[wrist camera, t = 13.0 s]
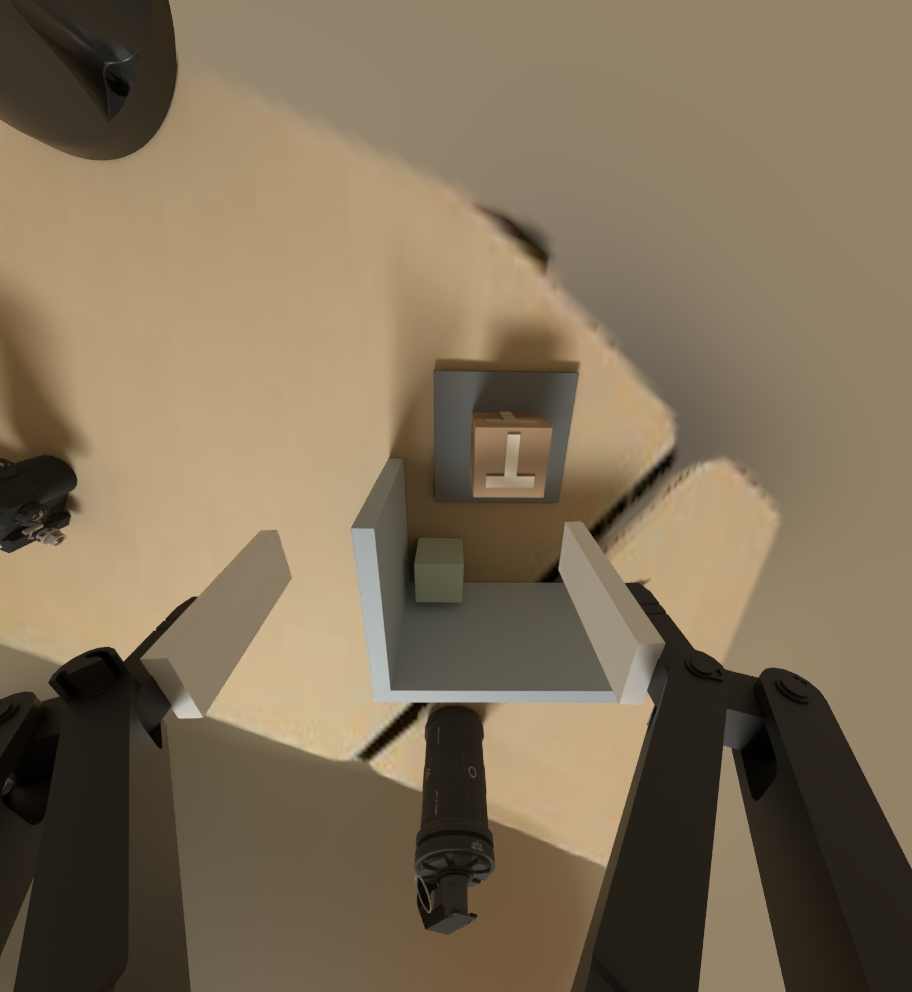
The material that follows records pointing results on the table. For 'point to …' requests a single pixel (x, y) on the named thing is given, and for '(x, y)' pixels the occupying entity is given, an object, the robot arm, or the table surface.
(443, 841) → the grenade
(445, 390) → the mat
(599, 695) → the screen
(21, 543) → the scope
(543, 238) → the table surface
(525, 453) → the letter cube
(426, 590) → the plain cube
